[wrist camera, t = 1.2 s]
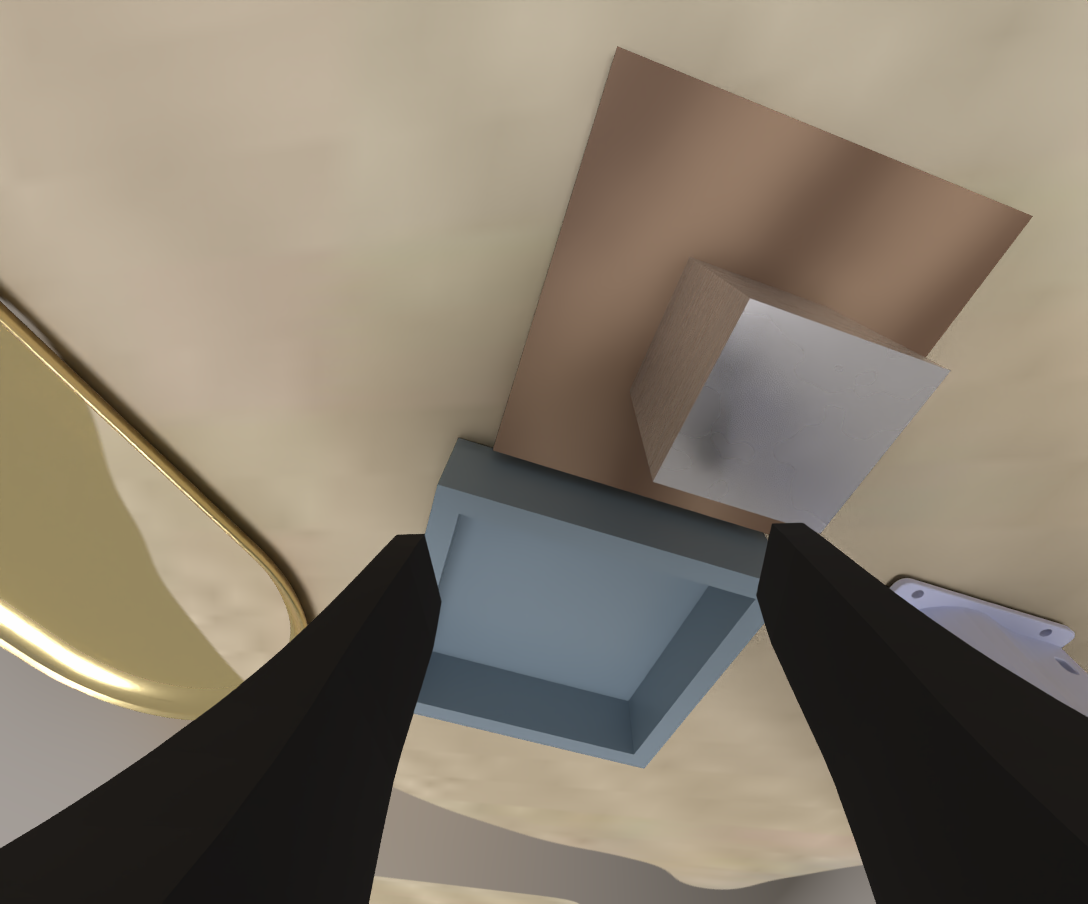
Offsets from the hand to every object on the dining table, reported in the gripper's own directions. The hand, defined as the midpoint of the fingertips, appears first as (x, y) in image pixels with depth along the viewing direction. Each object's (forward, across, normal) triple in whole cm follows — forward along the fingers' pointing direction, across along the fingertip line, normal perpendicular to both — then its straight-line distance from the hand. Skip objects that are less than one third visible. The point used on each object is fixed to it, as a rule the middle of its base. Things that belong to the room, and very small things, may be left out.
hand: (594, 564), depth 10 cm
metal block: (+9, -5, -2) cm, 10 cm away
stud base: (+10, -5, -2) cm, 11 cm away
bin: (+10, +1, +11) cm, 15 cm away
